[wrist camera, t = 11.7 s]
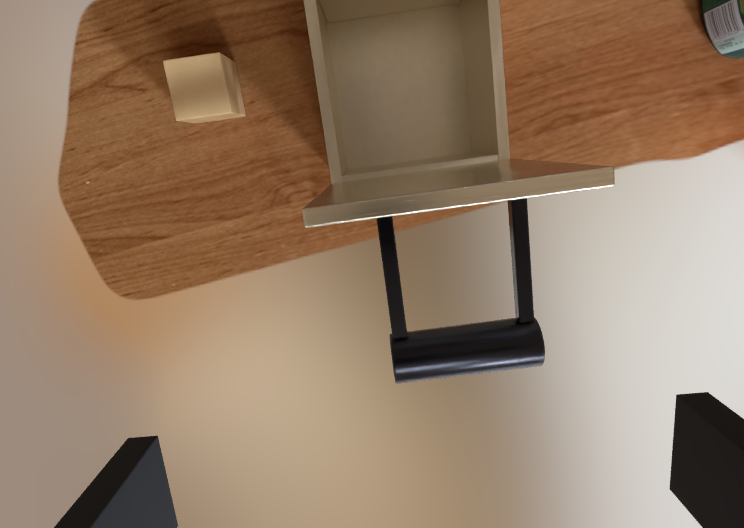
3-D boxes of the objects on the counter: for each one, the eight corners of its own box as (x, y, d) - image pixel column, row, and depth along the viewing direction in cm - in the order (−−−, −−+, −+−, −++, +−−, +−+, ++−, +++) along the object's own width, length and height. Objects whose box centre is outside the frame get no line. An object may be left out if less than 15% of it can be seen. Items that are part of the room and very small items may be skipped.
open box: (316, 16, 40) (299, -24, 31) (466, -6, 40) (496, -54, 30) (341, 179, 43) (332, 188, 34) (479, 160, 43) (510, 163, 34)
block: (184, 69, 41) (162, 60, 37) (235, 62, 41) (219, 51, 37) (196, 123, 42) (175, 120, 38) (246, 116, 42) (231, 112, 38)
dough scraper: (301, 209, 19) (335, 411, 22) (615, 166, 19) (618, 377, 21) (331, 183, 33) (350, 307, 36) (511, 158, 33) (520, 285, 35)
